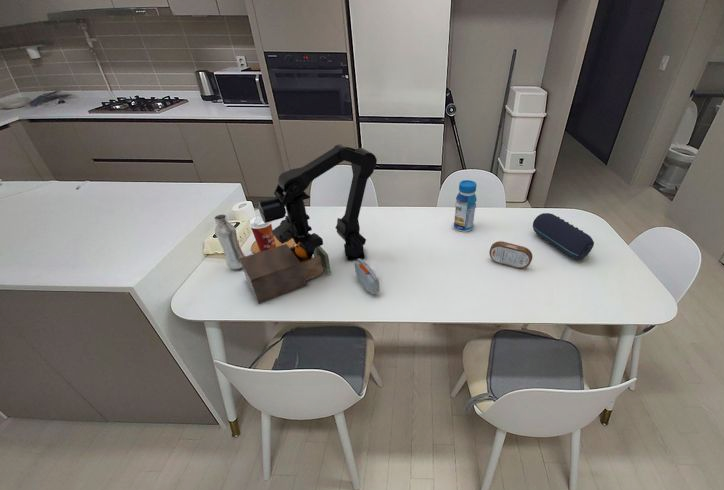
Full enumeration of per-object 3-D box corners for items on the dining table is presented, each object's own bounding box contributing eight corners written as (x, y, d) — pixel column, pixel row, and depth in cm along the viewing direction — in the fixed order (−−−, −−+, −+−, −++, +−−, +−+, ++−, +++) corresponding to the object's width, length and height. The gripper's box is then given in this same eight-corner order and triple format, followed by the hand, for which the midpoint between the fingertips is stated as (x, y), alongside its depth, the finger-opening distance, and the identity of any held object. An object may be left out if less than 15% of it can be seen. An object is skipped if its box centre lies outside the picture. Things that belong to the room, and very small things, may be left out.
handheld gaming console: (381, 296, 113) (379, 277, 109) (373, 299, 112) (371, 280, 107) (361, 273, 123) (359, 254, 118) (354, 275, 122) (351, 257, 117)
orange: (316, 240, 121) (301, 233, 116) (319, 254, 118) (304, 248, 113) (303, 250, 123) (288, 244, 118) (306, 264, 120) (291, 258, 115)
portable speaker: (593, 259, 130) (602, 236, 125) (574, 266, 127) (582, 243, 121) (545, 228, 149) (551, 207, 143) (527, 234, 145) (532, 212, 139)
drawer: (320, 255, 130) (316, 237, 126) (334, 271, 122) (331, 253, 117) (278, 269, 123) (273, 251, 118) (290, 288, 115) (285, 269, 110)
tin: (530, 267, 126) (535, 248, 121) (528, 272, 124) (533, 252, 119) (489, 257, 131) (492, 238, 126) (487, 261, 129) (490, 242, 124)
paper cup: (273, 259, 130) (263, 226, 121) (254, 256, 131) (243, 224, 122) (283, 247, 136) (275, 215, 127) (265, 245, 137) (255, 213, 129)
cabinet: (291, 266, 126) (286, 243, 121) (306, 285, 117) (300, 262, 112) (247, 281, 119) (239, 258, 113) (258, 303, 110) (250, 280, 104)
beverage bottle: (474, 232, 146) (480, 187, 134) (454, 232, 146) (458, 187, 134) (471, 222, 152) (477, 178, 140) (452, 222, 153) (456, 178, 141)
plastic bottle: (236, 273, 122) (217, 224, 110) (224, 267, 125) (205, 218, 113) (251, 264, 127) (235, 215, 115) (239, 259, 130) (222, 210, 118)
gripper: (259, 210, 111) (271, 251, 120) (285, 233, 100) (295, 276, 109) (292, 200, 117) (301, 239, 126) (320, 221, 106) (327, 263, 115)
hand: (305, 254), depth 119 cm, fingers closed on orange, 6 cm apart
